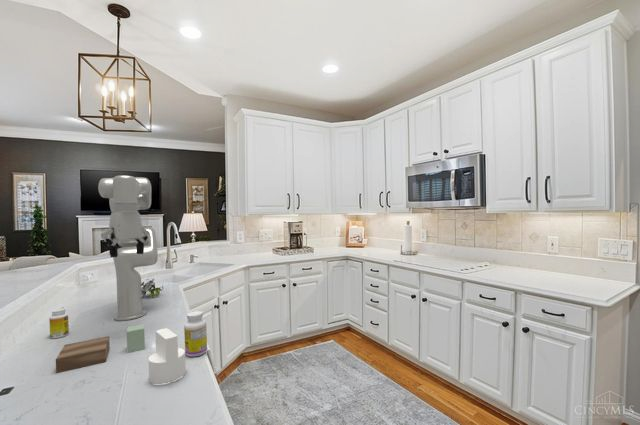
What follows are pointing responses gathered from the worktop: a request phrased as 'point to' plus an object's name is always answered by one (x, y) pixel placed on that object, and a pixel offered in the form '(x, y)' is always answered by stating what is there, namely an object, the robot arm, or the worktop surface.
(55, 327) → the supplement bottle
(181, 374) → the base with upright slab
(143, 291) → the passion flower
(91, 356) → the walnut base
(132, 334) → the sage block
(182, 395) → the worktop surface
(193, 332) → the supplement bottle
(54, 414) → the worktop surface
